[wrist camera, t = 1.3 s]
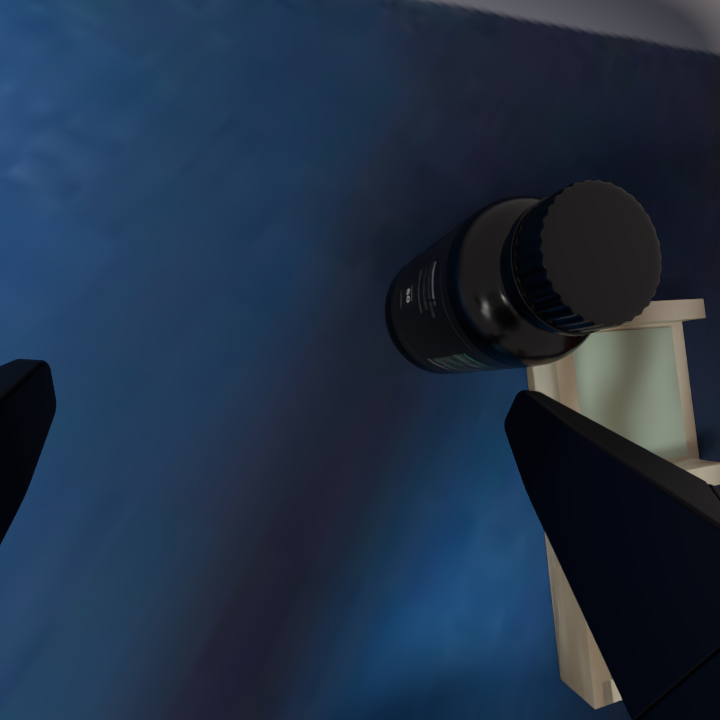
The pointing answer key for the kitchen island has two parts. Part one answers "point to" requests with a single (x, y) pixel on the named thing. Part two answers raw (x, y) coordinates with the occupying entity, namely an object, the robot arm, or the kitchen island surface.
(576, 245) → the supplement bottle
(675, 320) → the birch rack
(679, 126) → the kitchen island surface
